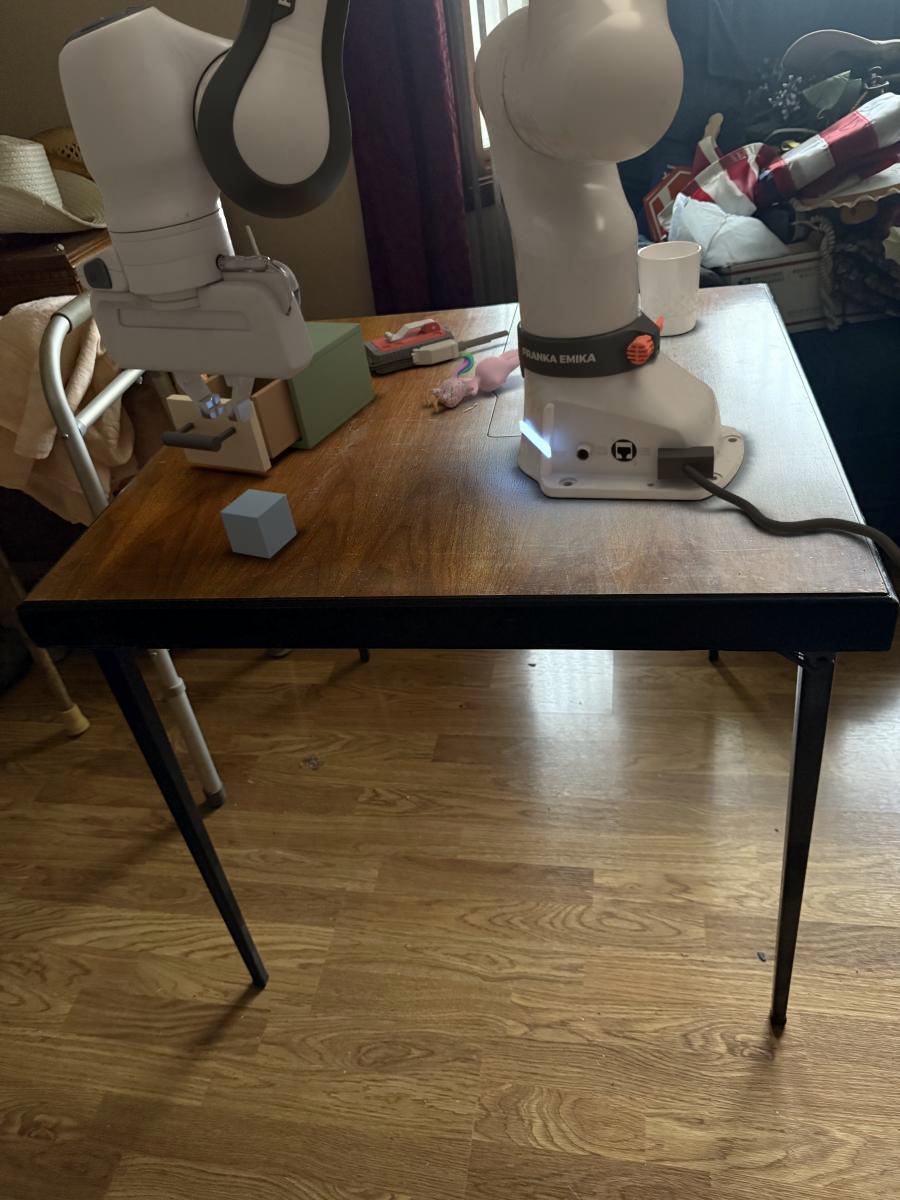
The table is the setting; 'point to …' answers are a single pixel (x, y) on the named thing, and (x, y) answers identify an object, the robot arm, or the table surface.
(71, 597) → the table surface
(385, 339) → the toy chainsaw
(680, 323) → the white cup
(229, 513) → the block
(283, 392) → the drawer
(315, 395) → the cabinet
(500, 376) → the pink unicorn toy
